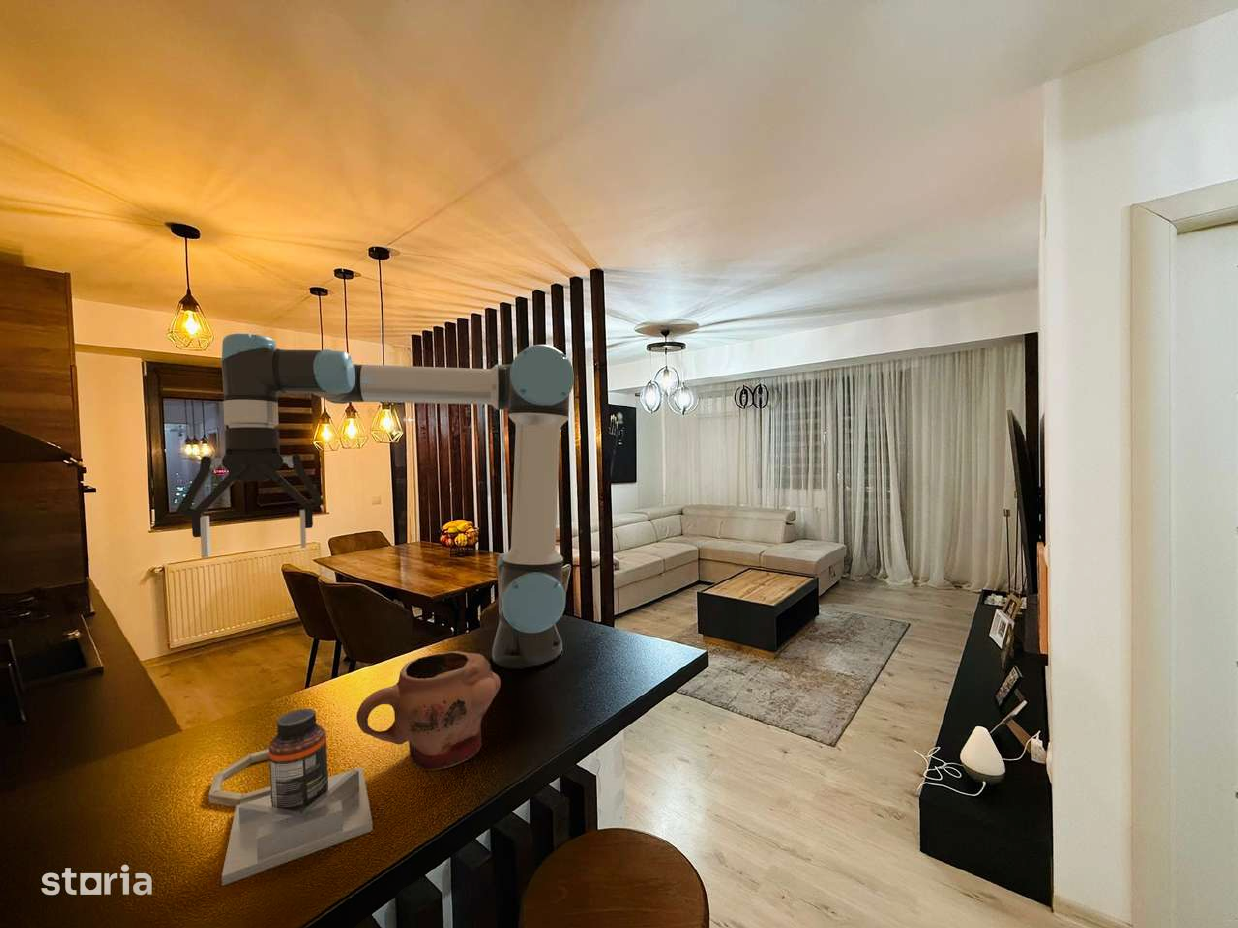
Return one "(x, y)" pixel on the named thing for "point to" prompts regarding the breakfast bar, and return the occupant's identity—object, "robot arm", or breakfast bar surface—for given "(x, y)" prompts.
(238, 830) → the v-block
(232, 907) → the breakfast bar surface
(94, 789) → the breakfast bar surface
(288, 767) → the supplement bottle
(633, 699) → the breakfast bar surface
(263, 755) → the wooden collar
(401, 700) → the sculpted ceramic mug
